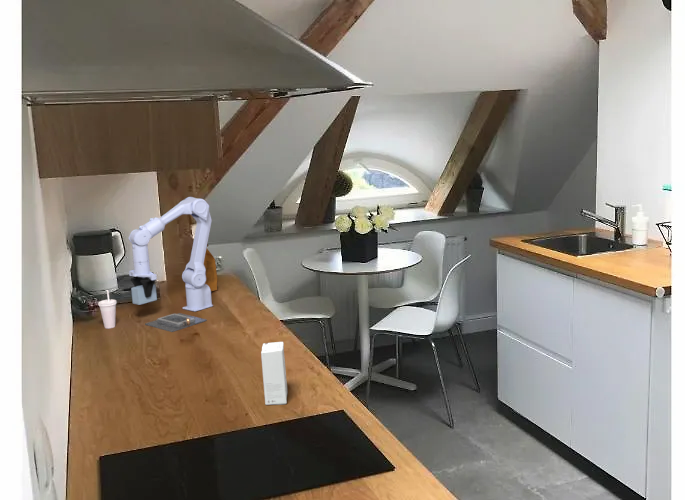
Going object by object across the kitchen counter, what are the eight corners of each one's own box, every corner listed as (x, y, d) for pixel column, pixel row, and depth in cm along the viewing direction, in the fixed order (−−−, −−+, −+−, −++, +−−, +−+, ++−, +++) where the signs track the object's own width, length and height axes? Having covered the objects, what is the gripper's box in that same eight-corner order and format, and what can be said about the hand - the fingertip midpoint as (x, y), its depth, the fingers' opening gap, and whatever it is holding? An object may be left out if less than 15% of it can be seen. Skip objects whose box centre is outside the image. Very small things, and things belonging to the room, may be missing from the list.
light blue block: (150, 298, 268) (149, 283, 267) (156, 299, 265) (155, 284, 264) (132, 303, 262) (131, 287, 260) (139, 304, 259) (137, 289, 258)
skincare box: (286, 404, 183) (283, 350, 180) (263, 405, 183) (260, 352, 180) (287, 391, 191) (284, 340, 188) (265, 393, 191) (262, 341, 188)
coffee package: (215, 285, 312) (211, 237, 308) (219, 292, 300) (216, 242, 296) (192, 288, 309) (189, 239, 305) (196, 294, 297) (192, 244, 293)
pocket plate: (179, 314, 270) (179, 307, 269) (206, 320, 260) (206, 313, 259) (145, 324, 257) (144, 317, 257) (172, 332, 247) (171, 324, 247)
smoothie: (115, 329, 253) (111, 292, 250) (98, 329, 253) (94, 292, 250) (121, 324, 259) (117, 287, 256) (104, 324, 259) (100, 288, 257)
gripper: (120, 261, 262) (124, 295, 265) (143, 265, 253) (147, 301, 256) (136, 257, 267) (140, 291, 270) (159, 261, 258) (163, 297, 261)
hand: (144, 296), depth 263 cm, fingers closed on light blue block, 4 cm apart
